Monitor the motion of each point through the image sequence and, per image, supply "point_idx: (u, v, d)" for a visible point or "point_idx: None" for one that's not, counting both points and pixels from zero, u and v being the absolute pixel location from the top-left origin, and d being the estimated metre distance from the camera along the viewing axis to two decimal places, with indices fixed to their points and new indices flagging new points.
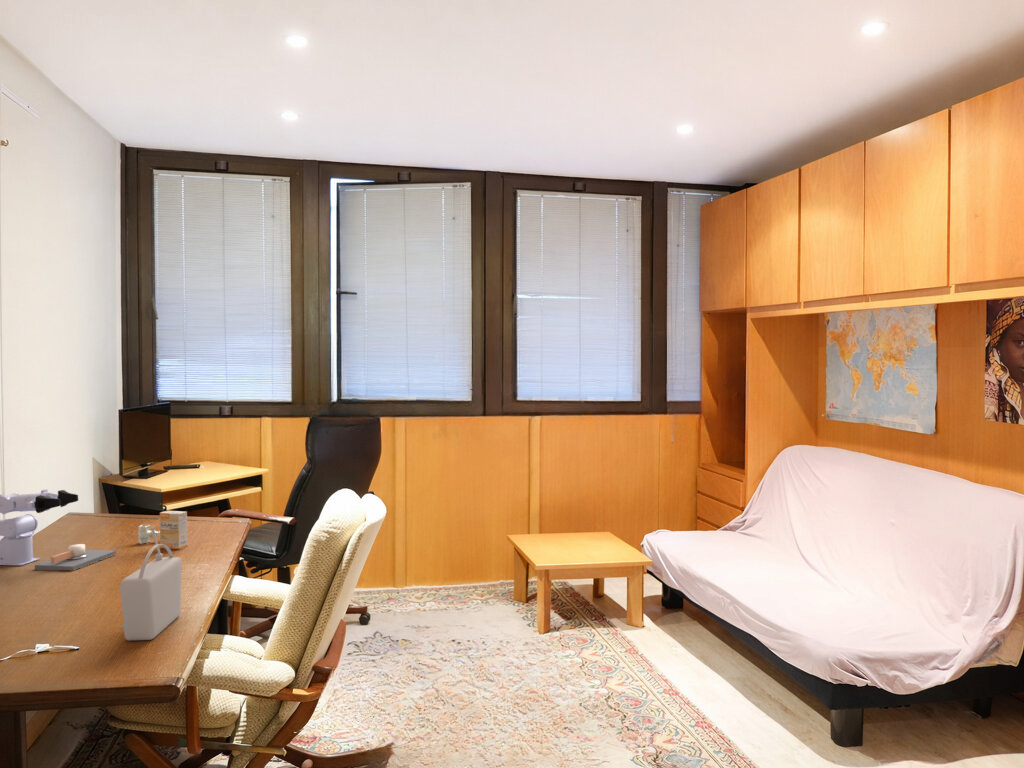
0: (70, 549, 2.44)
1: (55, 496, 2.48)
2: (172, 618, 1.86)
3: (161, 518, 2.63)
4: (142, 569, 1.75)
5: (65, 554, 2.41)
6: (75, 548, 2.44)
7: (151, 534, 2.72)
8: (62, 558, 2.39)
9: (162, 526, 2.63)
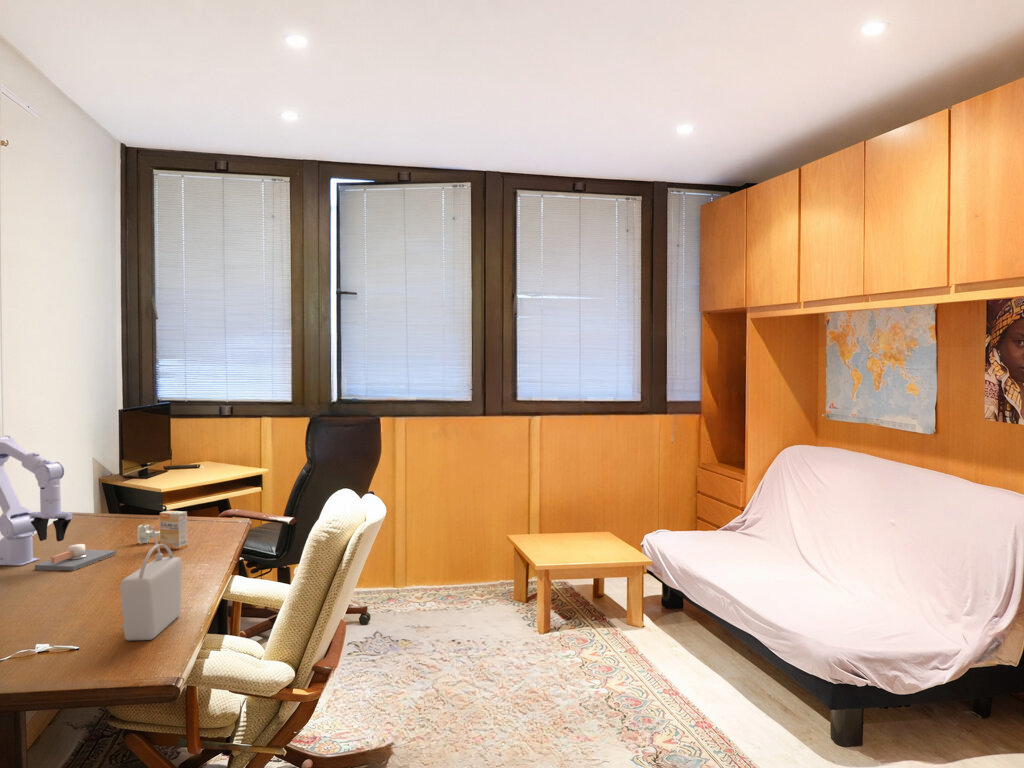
0: (70, 549, 2.44)
1: None
2: (172, 618, 1.86)
3: (161, 518, 2.63)
4: (142, 569, 1.75)
5: (65, 554, 2.41)
6: (75, 548, 2.44)
7: (150, 534, 2.72)
8: (62, 558, 2.39)
9: (162, 526, 2.63)
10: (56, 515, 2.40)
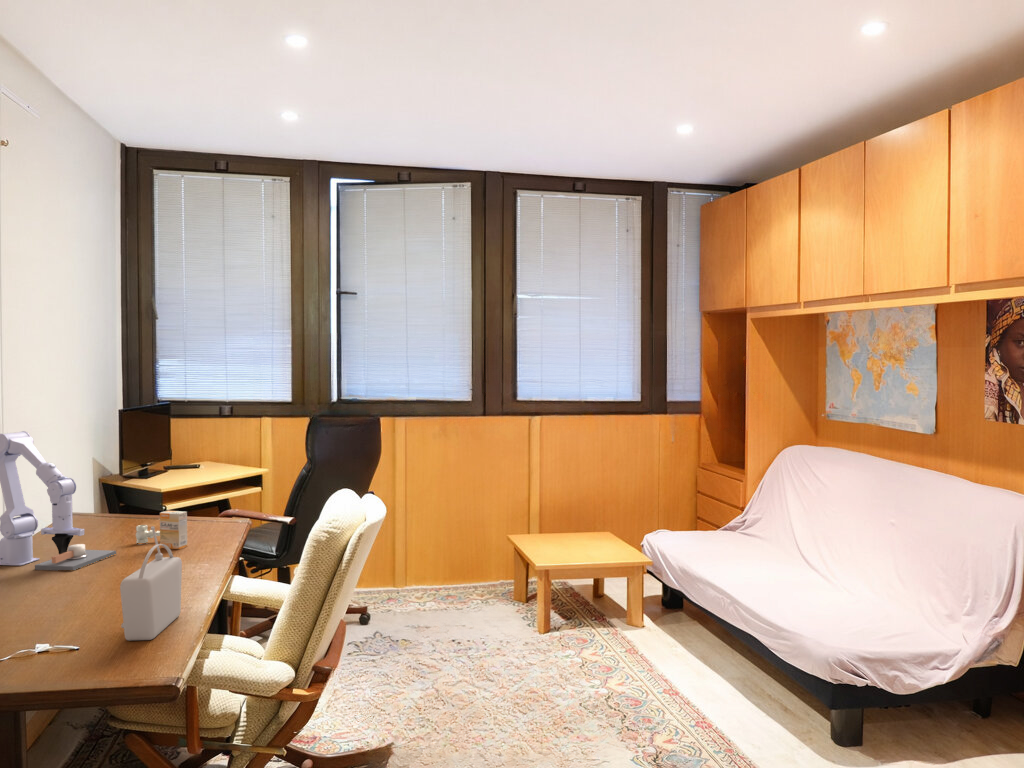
0: (70, 549, 2.44)
1: None
2: (172, 618, 1.86)
3: (161, 518, 2.63)
4: (142, 569, 1.75)
5: (66, 554, 2.41)
6: (75, 548, 2.44)
7: (149, 534, 2.72)
8: (63, 558, 2.39)
9: (162, 526, 2.63)
10: (68, 531, 2.39)
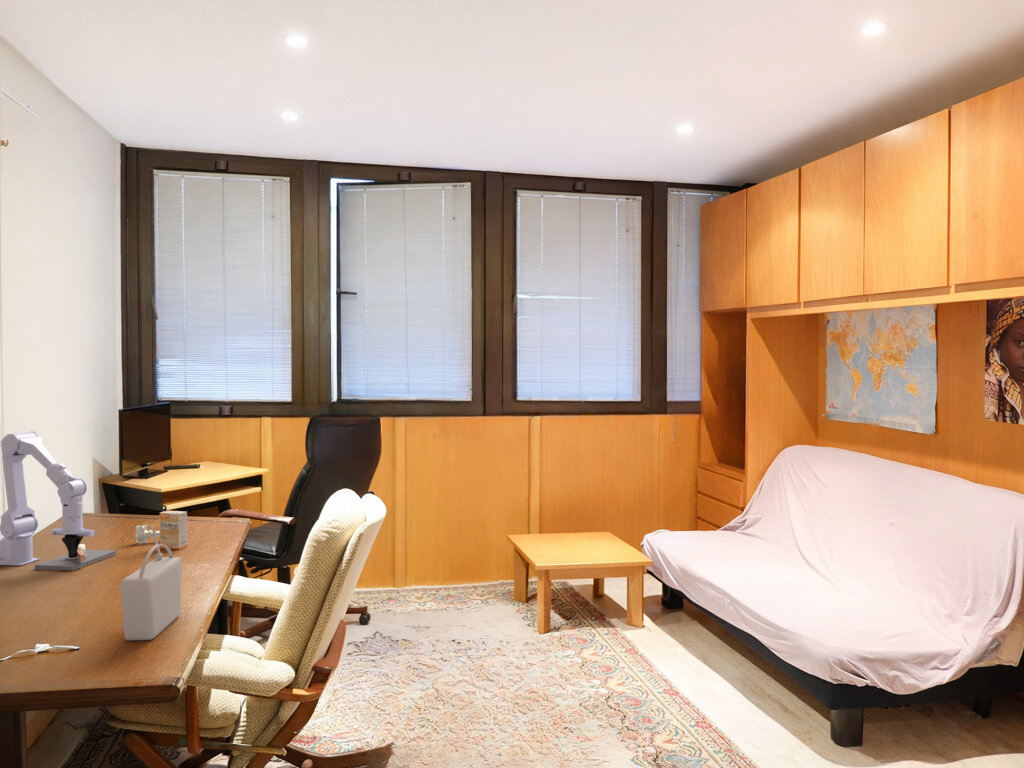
0: (77, 549, 2.44)
1: None
2: (172, 618, 1.86)
3: (161, 518, 2.63)
4: (142, 569, 1.75)
5: (82, 552, 2.43)
6: (82, 547, 2.46)
7: (148, 534, 2.72)
8: None
9: (162, 526, 2.63)
10: (78, 532, 2.38)
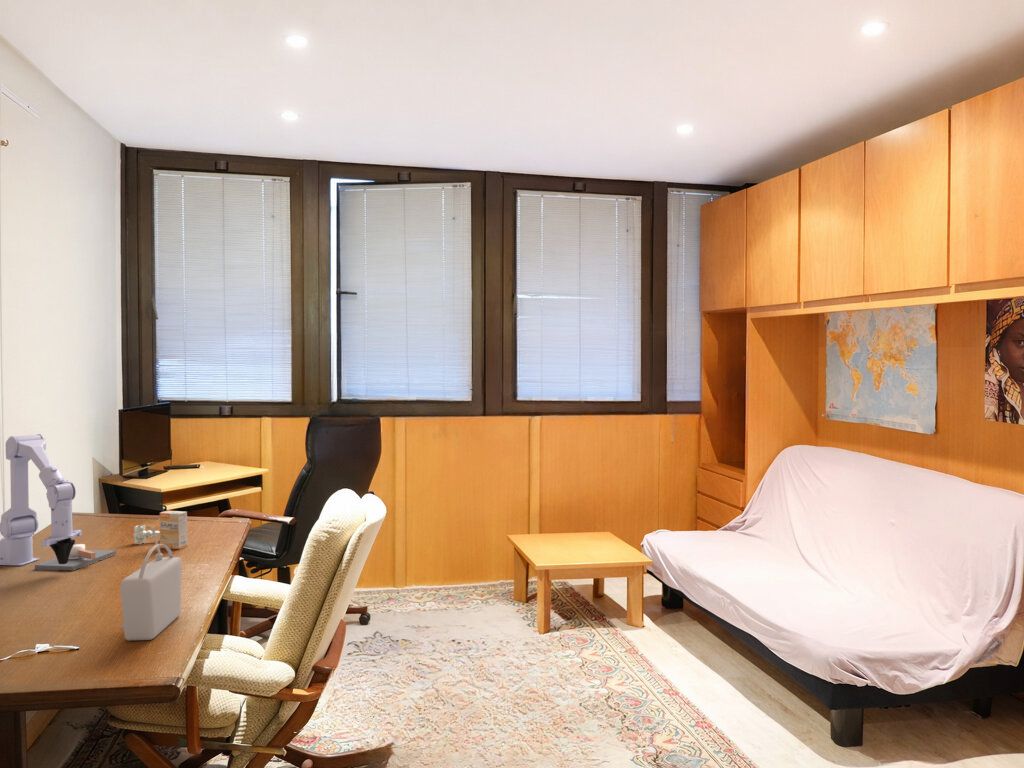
0: (79, 548, 2.45)
1: None
2: (172, 618, 1.86)
3: (161, 518, 2.63)
4: (142, 569, 1.75)
5: None
6: (83, 546, 2.46)
7: (147, 534, 2.72)
8: None
9: (162, 526, 2.63)
10: (76, 533, 2.36)
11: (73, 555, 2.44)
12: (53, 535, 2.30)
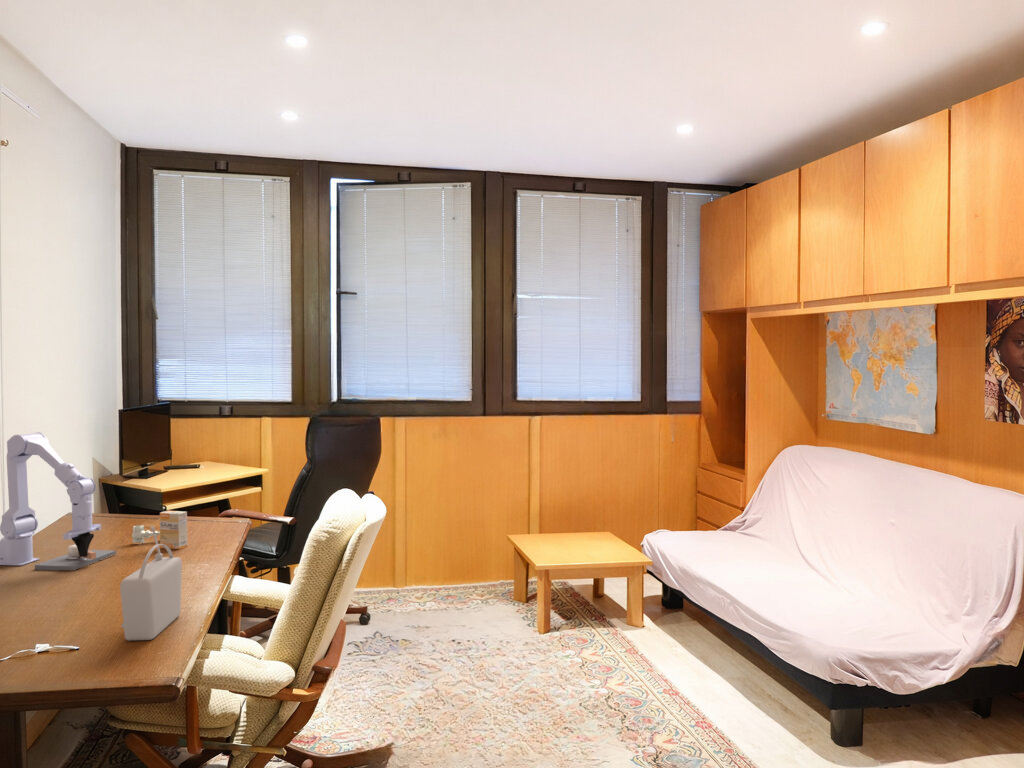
0: None
1: None
2: (172, 618, 1.86)
3: (161, 518, 2.63)
4: (142, 569, 1.75)
5: None
6: None
7: (146, 534, 2.72)
8: None
9: (162, 526, 2.63)
10: (95, 527, 2.44)
11: (74, 555, 2.44)
12: (74, 529, 2.39)
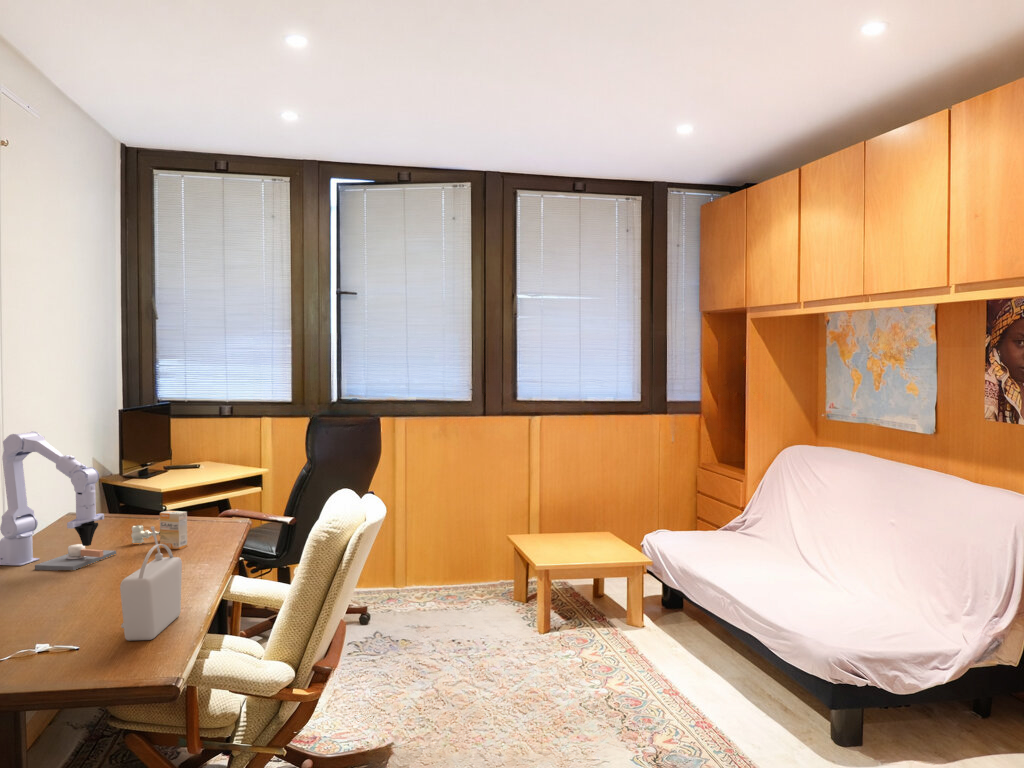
0: (81, 548, 2.46)
1: None
2: (172, 618, 1.86)
3: (161, 518, 2.63)
4: (142, 569, 1.75)
5: None
6: (84, 546, 2.47)
7: (145, 534, 2.72)
8: None
9: (162, 526, 2.63)
10: (99, 516, 2.46)
11: (76, 555, 2.44)
12: (78, 518, 2.40)
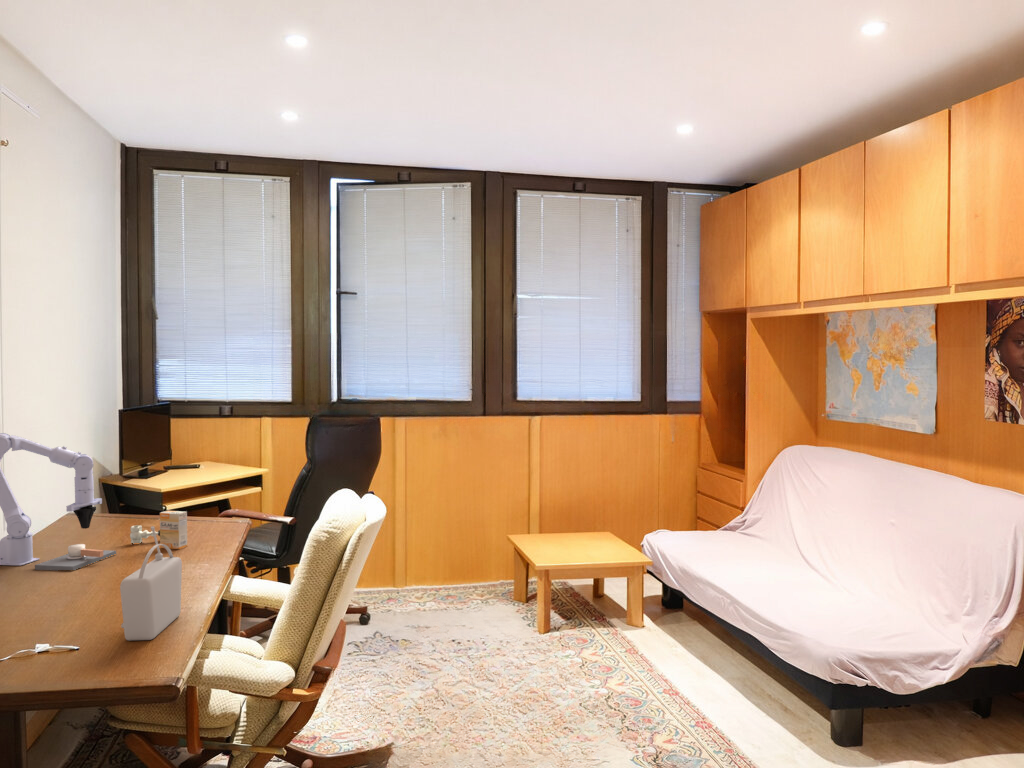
0: (81, 548, 2.46)
1: (95, 502, 2.59)
2: (172, 618, 1.86)
3: (161, 518, 2.63)
4: (142, 569, 1.75)
5: None
6: (84, 546, 2.47)
7: (144, 535, 2.71)
8: None
9: (162, 526, 2.63)
10: (97, 501, 2.59)
11: (76, 555, 2.44)
12: (76, 502, 2.53)
